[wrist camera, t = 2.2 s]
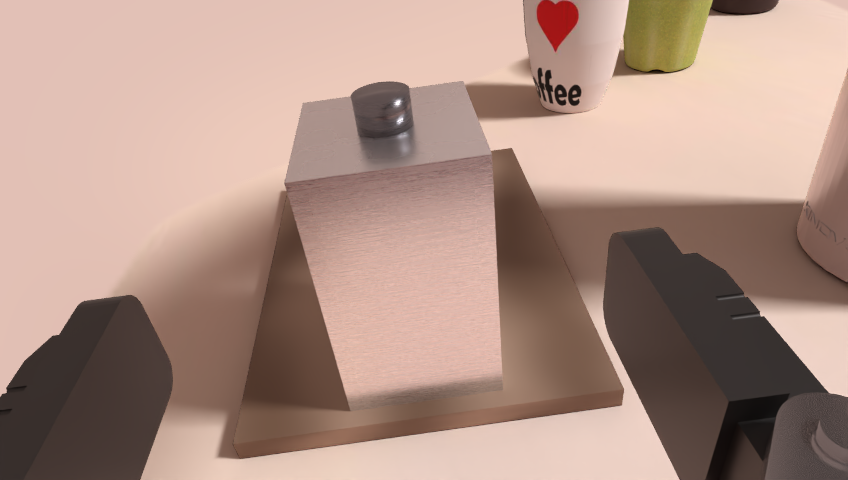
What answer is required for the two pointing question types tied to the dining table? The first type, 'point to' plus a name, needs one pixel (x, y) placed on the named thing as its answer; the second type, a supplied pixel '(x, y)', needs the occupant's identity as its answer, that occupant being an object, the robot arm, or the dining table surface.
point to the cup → (573, 50)
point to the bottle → (743, 6)
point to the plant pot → (664, 33)
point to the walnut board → (520, 398)
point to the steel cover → (401, 240)
